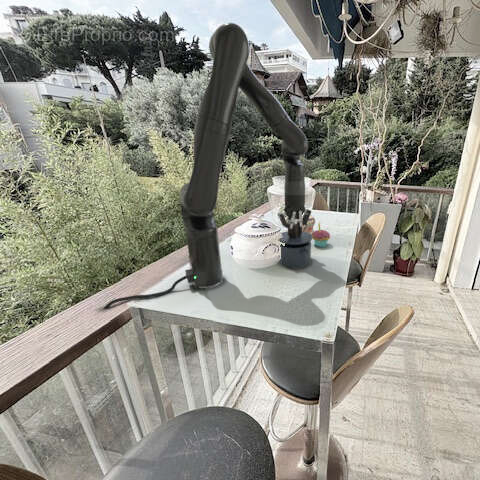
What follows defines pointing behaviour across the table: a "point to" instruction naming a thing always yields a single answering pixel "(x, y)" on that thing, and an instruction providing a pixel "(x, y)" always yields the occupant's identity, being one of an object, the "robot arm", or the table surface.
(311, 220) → the teacup with lid
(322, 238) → the cupcake
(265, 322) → the table surface
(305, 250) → the pot
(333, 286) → the table surface
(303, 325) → the table surface
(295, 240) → the lid
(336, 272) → the table surface
